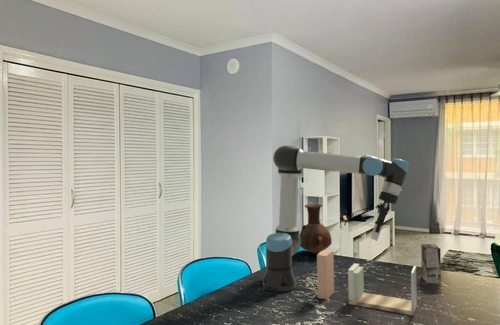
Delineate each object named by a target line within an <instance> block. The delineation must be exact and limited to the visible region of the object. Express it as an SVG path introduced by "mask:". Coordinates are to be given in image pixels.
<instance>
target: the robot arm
mask: <svg viewBox="0 0 500 325" xmlns="http://www.w3.org/2000/svg"><path fill="white" fill-rule="evenodd" d="M273 163H274V165H275V167H276V168H278V169H277V173H278V175H279V176H280V193H279V214H278V215H279V216H278V217H279V218H278V220H279V221H278V225H277V226H276V227H275V232H274V233H271V234H268V235H267V237H266V241H265V256H266V260H265V261H266V270H265V273H264V277H263V280H262V287H263V288H264V290H266V291H269V292H275V293H284V292H290V291H294V289H296V288H297V281H296V278H295V275H294V271H293V265H292V264H293V262H292V261H293V256H294V255H295V254H296V253H297V252H298V251H299V250H300V248H301V247H300V245H301V238H300V228H299V227H298V226H297V225H298V224H297V223H298V222H297V221H298V202H299V201H298V196H299V178H300V176H301V175H303V169H307V170H318V171H327V172H328V171H329V172H330V171H331V172H338V173H348V174H360V175H365V176H366V175H367V176H372V177H375V176H379V177H382V178H384V181H383V185H382V187H381V191H380V193H379V195H378V199H379V200H380V201H383V203H381V204H380V206H379V211H378V215H377V220H375V221H374V227H373V229H372V232H371V236H370V239H371V240H374V241H376V242H378V240H379V237H380V234H381V231H382V229H383V226H384V222H385V219H386V216H387V215H388V213H389V211H390V208H391V205H390V204H392V205H396V204H397V203H398V199H399V195H400V193H401V192H402V191H403V189H402V187H403V185H404V182H405V180H406V176H407V174H408V171H409V167H410V163H409V162H408V161H406V160H403V159H400V158H397V157H396V158H395V157H394V158H392V159H391V161H390V160H386V159H383V158H379V157H376V156H373V155H370V154H364V155H363V156H361V155H352V154H351V155H350V154H340V153H339V154H338V153H327V152H315V151H314V152H313V151H304V150H303V149H302V148H299V147H297V146H294V145H282V146H279V147H278V148H276V150H275V151H274V153H273Z"/></svg>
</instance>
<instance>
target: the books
mask: <svg viewBox="0 0 500 325" xmlns="http://www.w3.org/2000/svg"><path fill="white" fill-rule="evenodd" d="M364 269H365V268H364V266H360V263H355V262H354V263H353V264H352V265H351V266H350V267H349V268H348V269H347V271H348V272H347V275H348V284H347V285H348V289H347V290H348V300H355V301H359V299H360V298H361V297H362V295H363V294H364V293H365V280H364Z"/></svg>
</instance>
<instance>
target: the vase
mask: <svg viewBox="0 0 500 325" xmlns="http://www.w3.org/2000/svg"><path fill="white" fill-rule="evenodd" d="M322 207H323V204H322V203H321V204H320V203H309V204H305V205H304V208H306V209H307V215H308V220H307V221H308V222H307V224H303V225H302V226H301V230H300V232H299V236H300V238H301V245H300V248H301V249H303V250H304V251H307V252H309V253H311V254H313V255H316V254H317V255H318V254H319V253H320V252H322V251H323V250H327V248H329V247H331V245H332V240H333V239H332V235H331V233H330V231H329V229H328V228H327V227H326V226H325V225H323V224H322V223H321V221H320V212H321V210H320V209H321V208H322Z"/></svg>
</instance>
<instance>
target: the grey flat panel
mask: <svg viewBox="0 0 500 325" xmlns="http://www.w3.org/2000/svg"><path fill="white" fill-rule="evenodd" d="M410 283H411V285H410V292H411V293H410V294H411V299H410V300H411V305H412V311H414V309H415V306H416V302H418V301H417V300H418V299H417V298H418V297H417V295H418V294H417V293H418V292H417V291H418V290H417V265H413V268H412V269H411V272H410ZM416 307H417V306H416Z"/></svg>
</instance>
